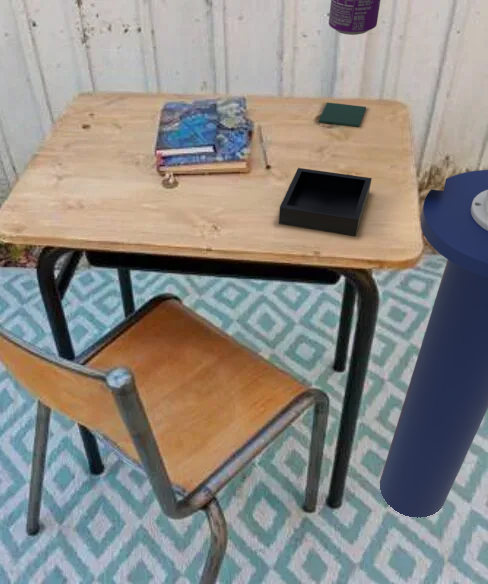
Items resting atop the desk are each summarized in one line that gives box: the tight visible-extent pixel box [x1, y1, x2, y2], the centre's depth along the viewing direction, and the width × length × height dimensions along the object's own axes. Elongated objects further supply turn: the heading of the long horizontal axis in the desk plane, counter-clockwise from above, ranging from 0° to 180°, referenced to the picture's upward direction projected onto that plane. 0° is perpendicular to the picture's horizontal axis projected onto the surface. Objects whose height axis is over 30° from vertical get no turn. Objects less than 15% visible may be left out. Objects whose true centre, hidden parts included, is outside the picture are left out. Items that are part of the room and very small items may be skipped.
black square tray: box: [278, 167, 373, 237], centre depth 94 cm, size 11×11×3 cm
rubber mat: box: [318, 102, 367, 128], centre depth 114 cm, size 7×7×1 cm
